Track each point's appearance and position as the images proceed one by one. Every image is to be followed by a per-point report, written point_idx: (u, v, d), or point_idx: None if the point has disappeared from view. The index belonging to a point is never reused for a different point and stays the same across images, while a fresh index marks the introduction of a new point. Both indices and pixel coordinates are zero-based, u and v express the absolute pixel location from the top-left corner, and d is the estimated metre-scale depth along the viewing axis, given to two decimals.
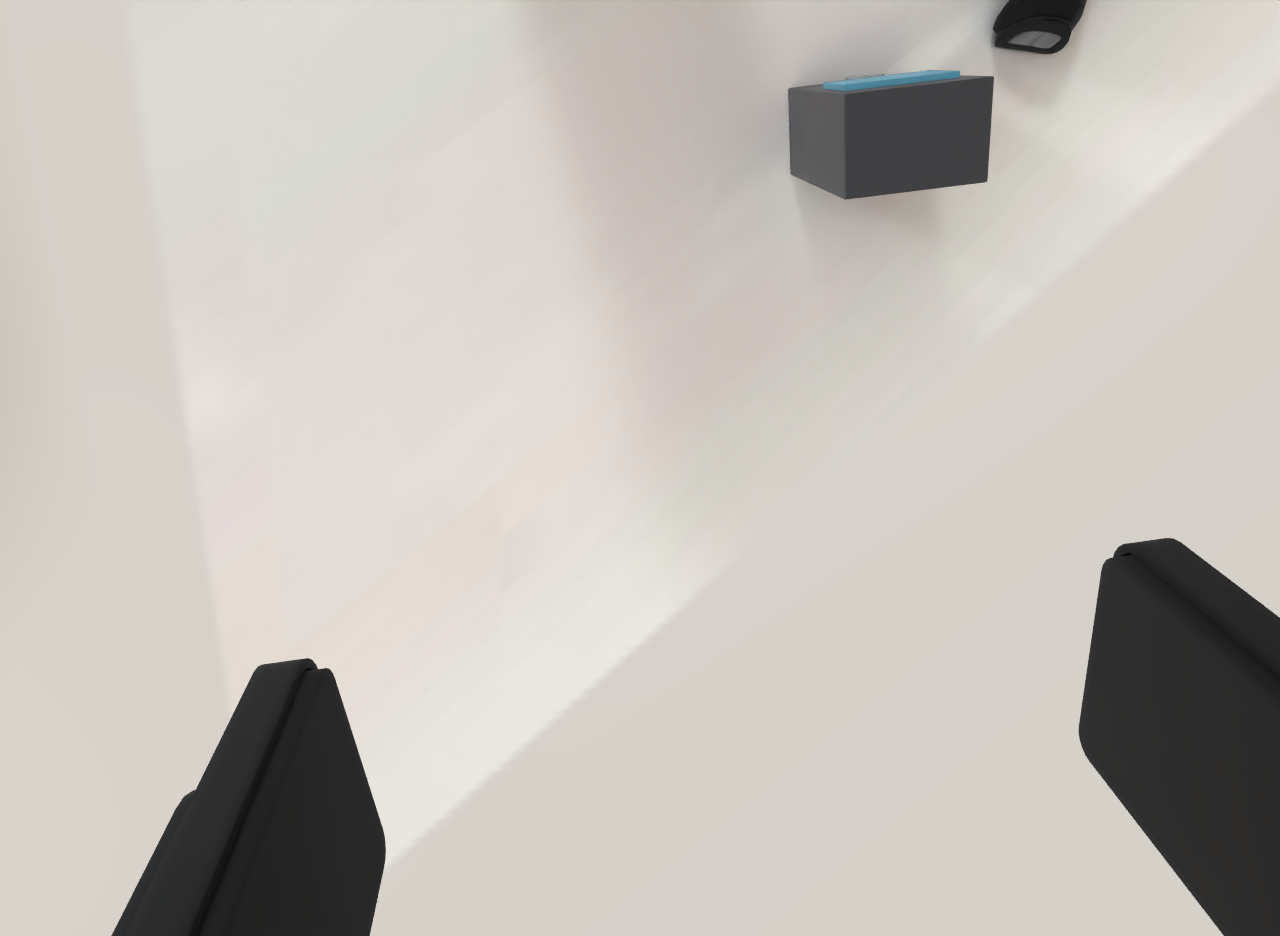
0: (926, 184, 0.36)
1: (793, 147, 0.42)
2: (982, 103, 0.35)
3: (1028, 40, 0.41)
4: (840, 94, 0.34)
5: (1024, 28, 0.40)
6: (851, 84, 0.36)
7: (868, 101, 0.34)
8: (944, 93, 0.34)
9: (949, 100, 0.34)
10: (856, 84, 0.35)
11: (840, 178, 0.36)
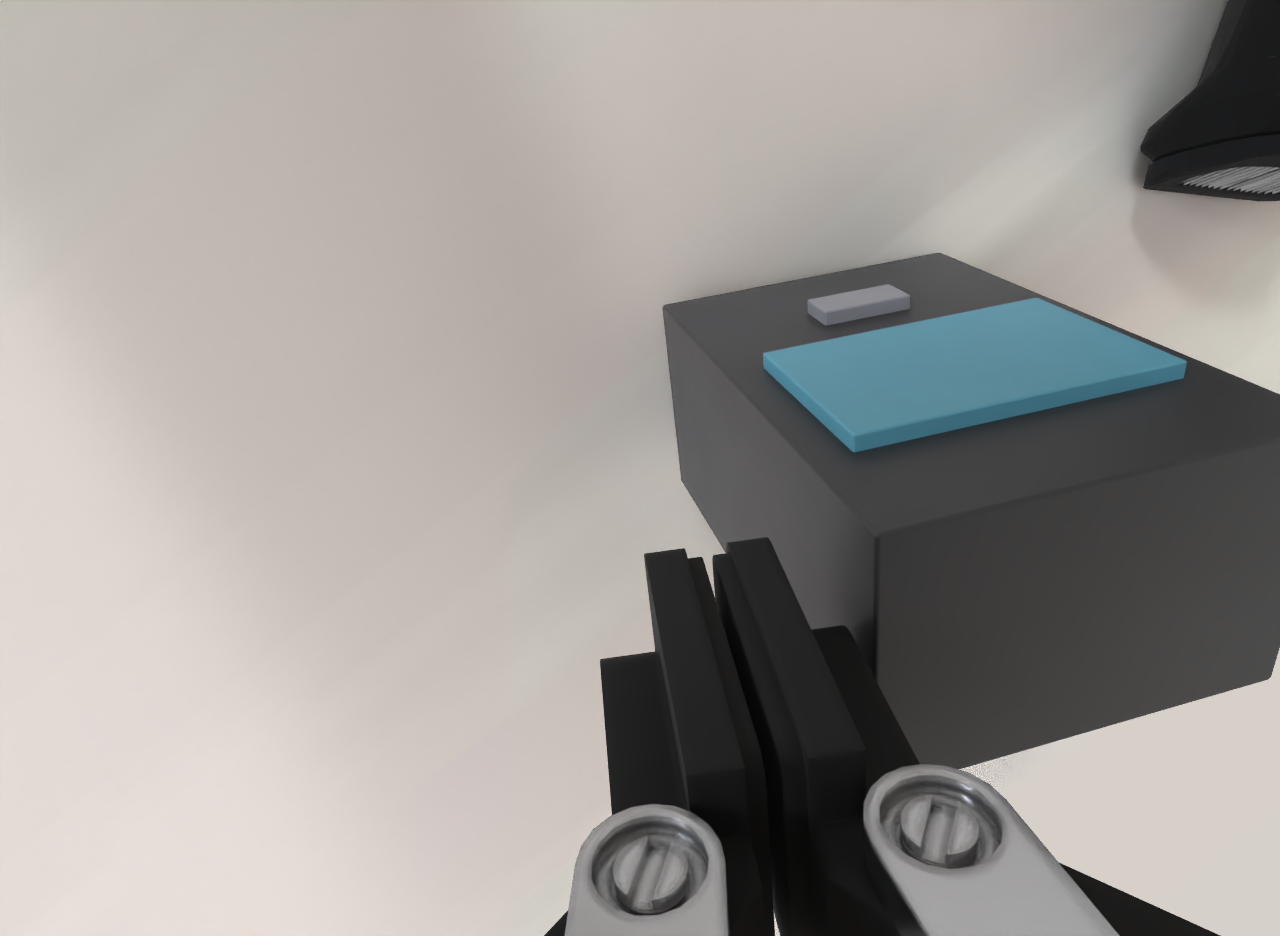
0: (1109, 716, 0.12)
1: (685, 440, 0.18)
2: None
3: (1231, 180, 0.17)
4: (854, 511, 0.10)
5: (1234, 160, 0.16)
6: (871, 431, 0.11)
7: (956, 544, 0.10)
8: (1195, 487, 0.10)
9: (1205, 505, 0.10)
10: (887, 430, 0.11)
11: None
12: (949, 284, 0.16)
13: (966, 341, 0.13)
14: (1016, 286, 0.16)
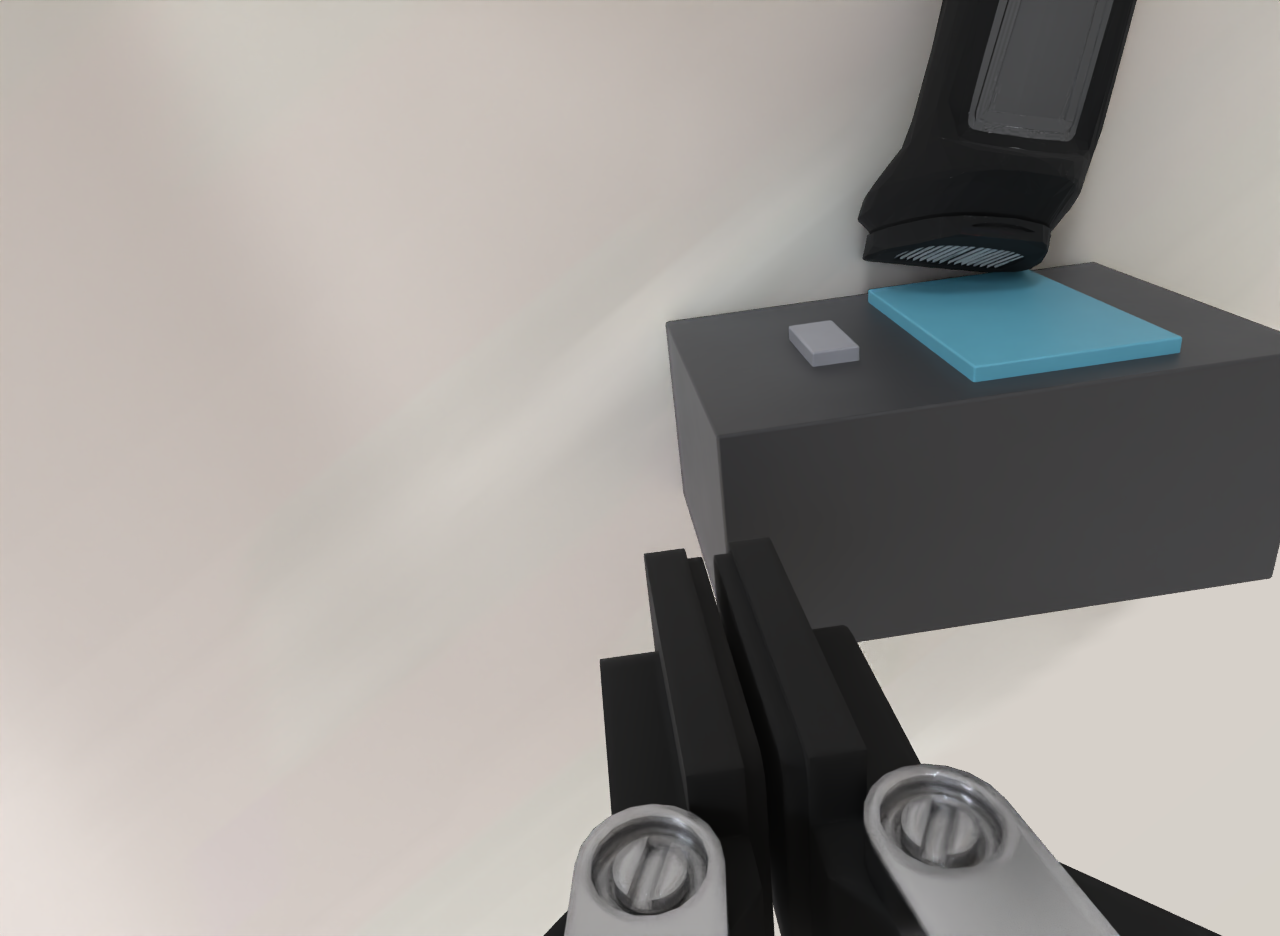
0: None
1: None
2: None
3: (943, 255, 0.16)
4: None
5: (926, 239, 0.15)
6: (1168, 334, 0.13)
7: None
8: None
9: None
10: (1161, 331, 0.13)
11: (1252, 543, 0.14)
12: (772, 320, 0.17)
13: (969, 307, 0.15)
14: (800, 304, 0.18)
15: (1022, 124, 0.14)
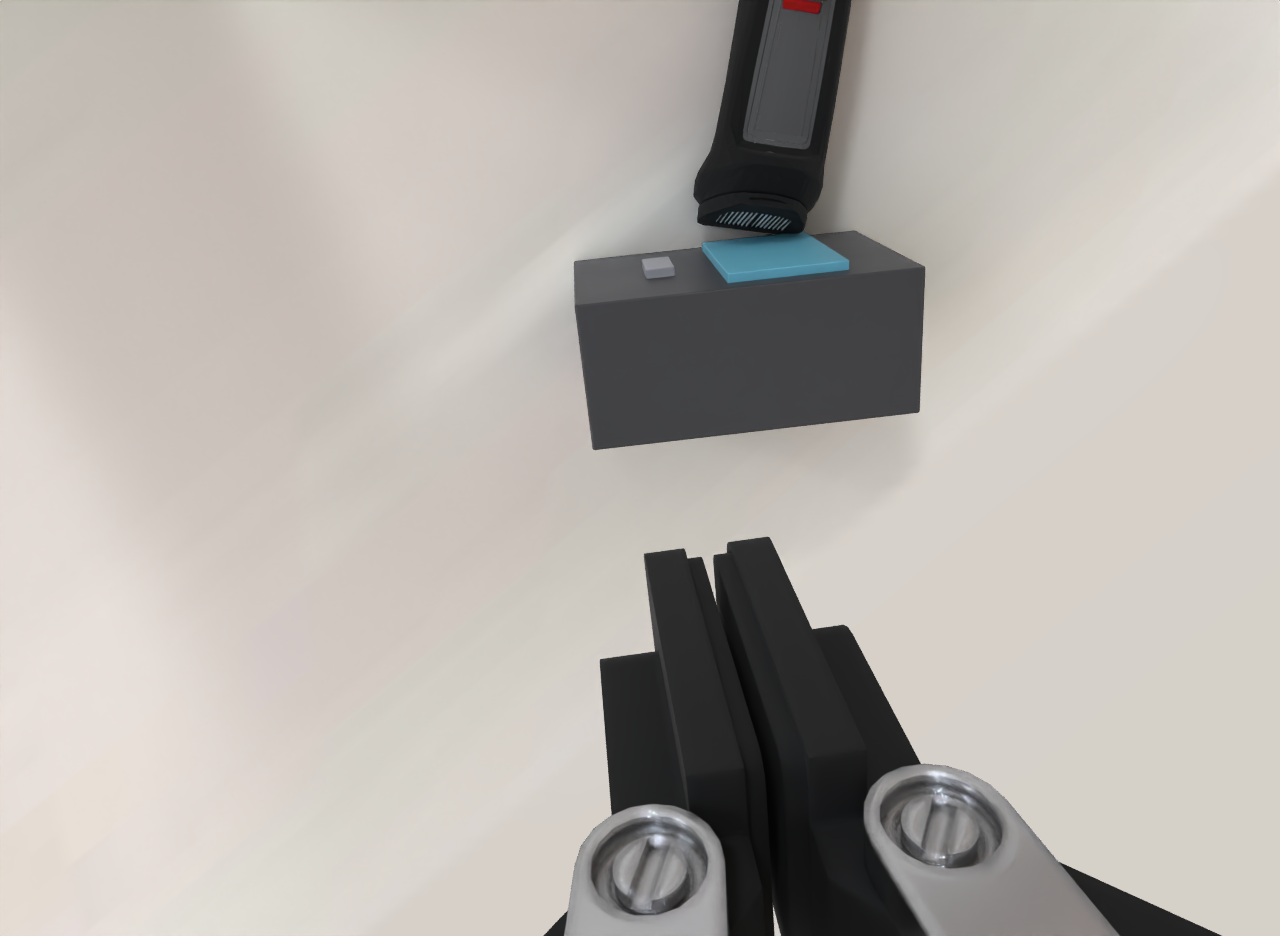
0: None
1: (615, 400, 0.23)
2: None
3: (744, 220, 0.26)
4: (903, 270, 0.22)
5: (725, 207, 0.25)
6: (844, 259, 0.23)
7: None
8: None
9: None
10: None
11: (902, 388, 0.23)
12: (638, 259, 0.27)
13: (751, 249, 0.25)
14: (661, 252, 0.27)
15: (774, 138, 0.24)
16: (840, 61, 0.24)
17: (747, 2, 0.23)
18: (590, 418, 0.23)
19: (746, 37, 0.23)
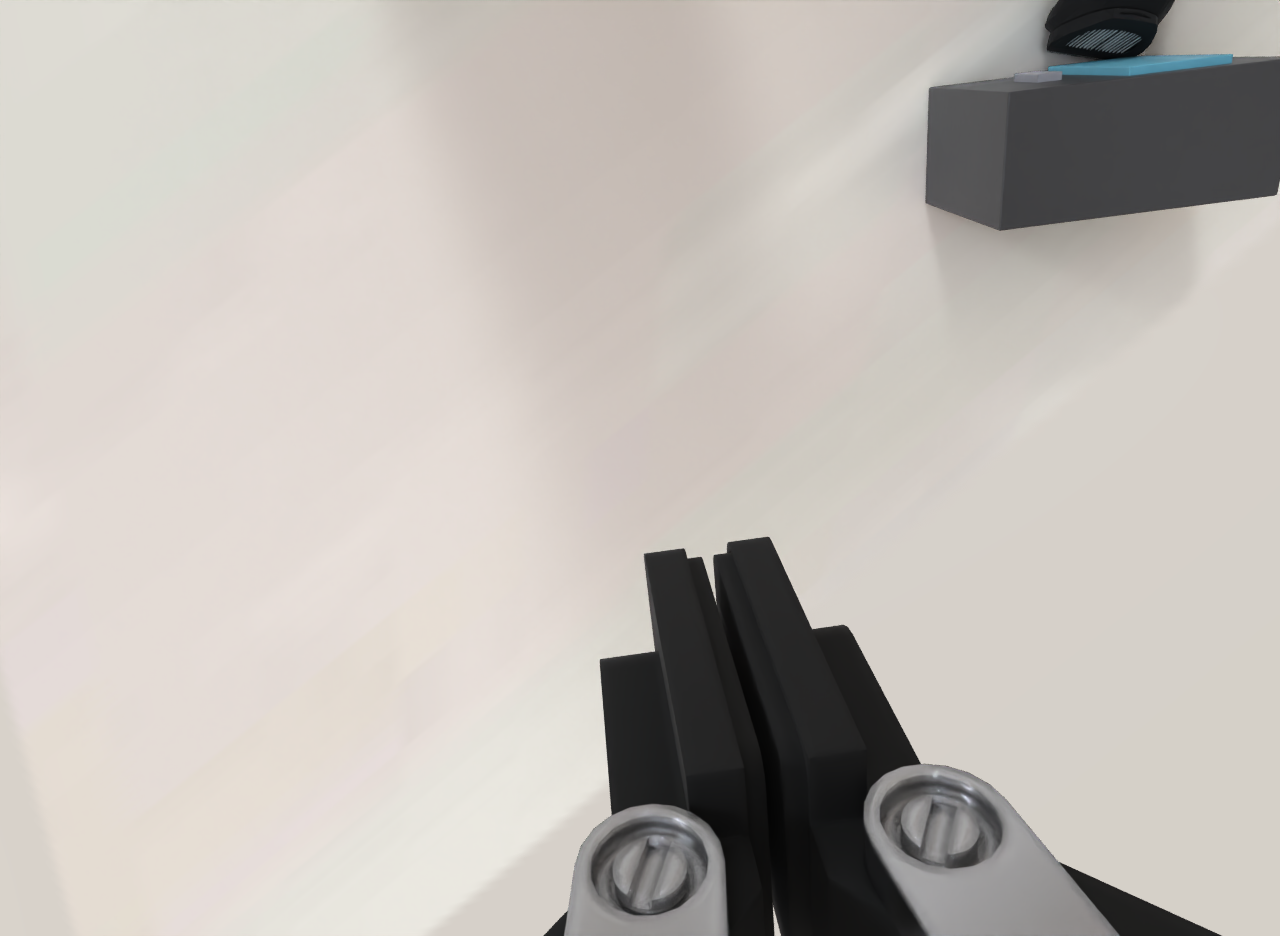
0: None
1: (1026, 182, 0.27)
2: None
3: (1094, 42, 0.30)
4: None
5: (1091, 25, 0.28)
6: None
7: None
8: None
9: None
10: None
11: (1267, 171, 0.27)
12: (996, 81, 0.30)
13: (1113, 62, 0.29)
14: (1006, 78, 0.31)
15: None
16: None
17: None
18: (1002, 200, 0.27)
19: None
